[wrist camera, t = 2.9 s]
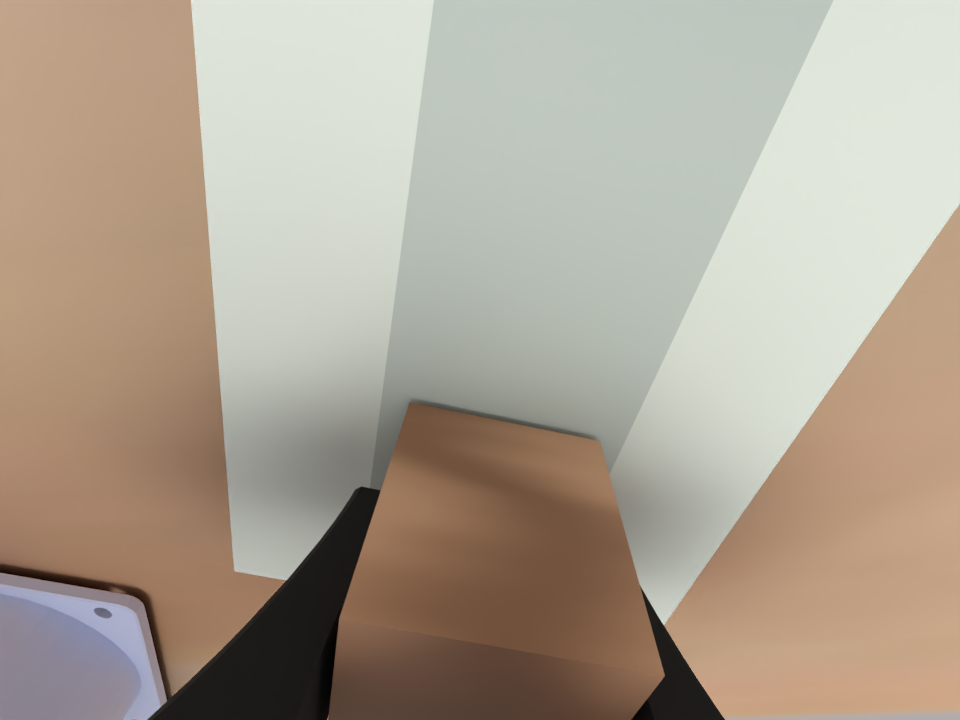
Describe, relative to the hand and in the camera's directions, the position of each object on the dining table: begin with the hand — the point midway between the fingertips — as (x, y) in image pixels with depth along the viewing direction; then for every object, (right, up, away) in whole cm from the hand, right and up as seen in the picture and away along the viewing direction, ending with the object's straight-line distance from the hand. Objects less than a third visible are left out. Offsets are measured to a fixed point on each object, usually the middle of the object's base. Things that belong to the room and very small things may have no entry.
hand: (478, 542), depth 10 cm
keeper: (0, +1, +2) cm, 2 cm away
